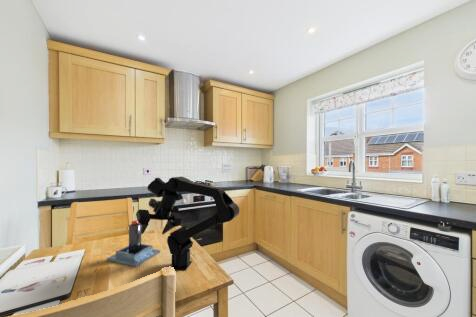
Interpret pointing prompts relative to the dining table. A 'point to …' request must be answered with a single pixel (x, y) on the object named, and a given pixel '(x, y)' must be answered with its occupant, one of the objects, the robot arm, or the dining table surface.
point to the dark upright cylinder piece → (134, 237)
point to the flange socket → (134, 255)
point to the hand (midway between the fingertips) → (152, 233)
